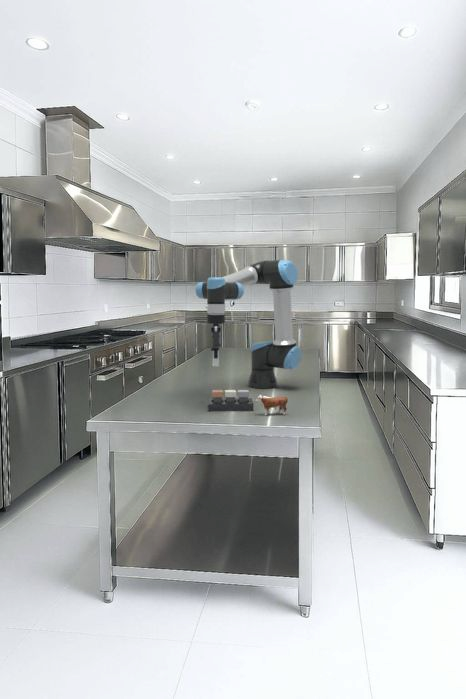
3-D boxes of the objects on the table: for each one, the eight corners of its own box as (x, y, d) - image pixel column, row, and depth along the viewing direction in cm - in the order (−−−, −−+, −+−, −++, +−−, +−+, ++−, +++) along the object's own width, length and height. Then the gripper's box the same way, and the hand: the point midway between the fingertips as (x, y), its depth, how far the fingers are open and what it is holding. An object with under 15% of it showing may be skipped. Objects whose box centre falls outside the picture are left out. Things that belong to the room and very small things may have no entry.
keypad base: (251, 404, 245) (251, 398, 244) (253, 410, 233) (253, 404, 232) (208, 404, 244) (208, 398, 244) (208, 411, 232) (208, 404, 232)
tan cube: (222, 401, 240) (222, 390, 240) (223, 404, 236) (223, 392, 235) (212, 401, 240) (212, 390, 239) (212, 404, 235) (212, 392, 235)
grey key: (248, 401, 241) (248, 389, 240) (248, 403, 236) (248, 391, 235) (237, 401, 240) (237, 389, 240) (238, 404, 236) (238, 392, 235)
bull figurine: (254, 413, 229) (254, 394, 228) (286, 412, 230) (287, 393, 229) (255, 415, 224) (256, 396, 223) (288, 415, 225) (289, 395, 224)
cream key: (235, 401, 240) (235, 389, 240) (235, 404, 236) (236, 392, 235) (224, 401, 240) (224, 390, 240) (225, 404, 236) (225, 392, 235)
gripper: (207, 312, 246) (207, 359, 249) (206, 315, 221) (206, 368, 224) (224, 312, 246) (224, 359, 249) (225, 315, 222) (224, 368, 224)
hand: (215, 363), depth 236 cm, fingers open, 13 cm apart
